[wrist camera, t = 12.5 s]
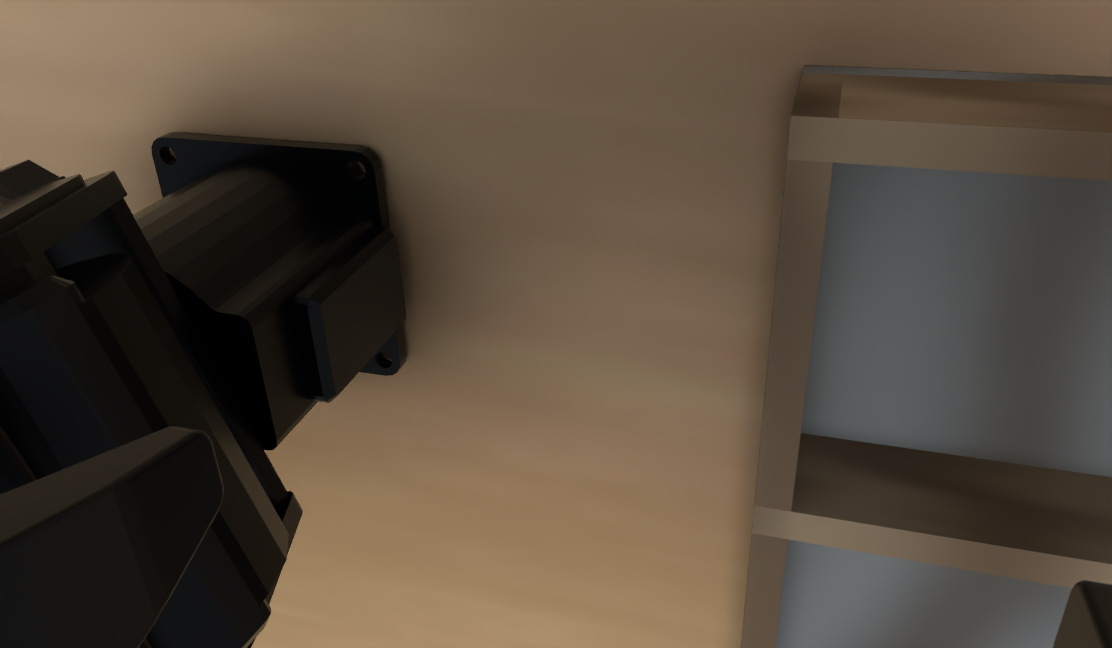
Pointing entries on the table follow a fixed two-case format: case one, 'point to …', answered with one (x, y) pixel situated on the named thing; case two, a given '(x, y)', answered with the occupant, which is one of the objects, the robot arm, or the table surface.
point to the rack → (936, 363)
